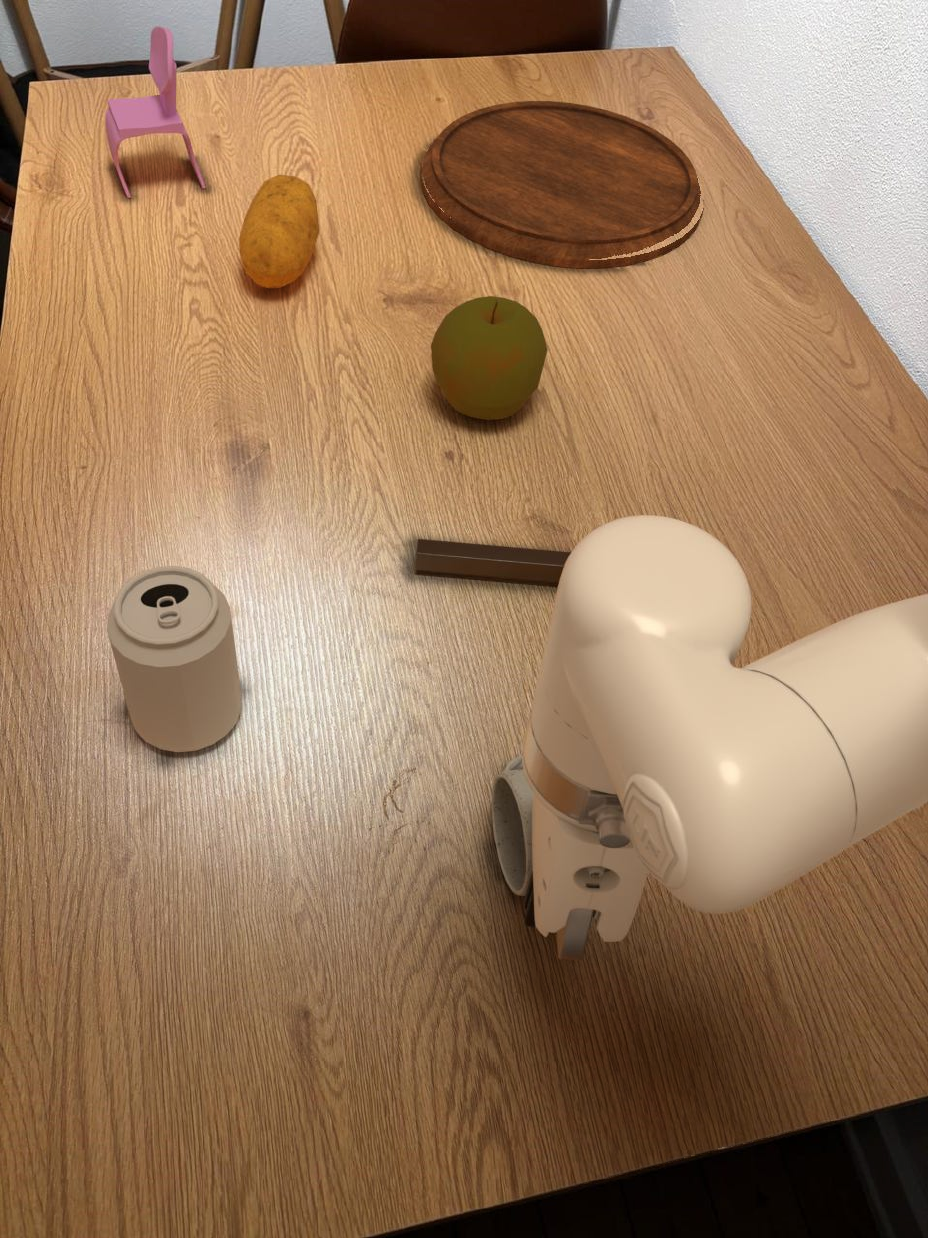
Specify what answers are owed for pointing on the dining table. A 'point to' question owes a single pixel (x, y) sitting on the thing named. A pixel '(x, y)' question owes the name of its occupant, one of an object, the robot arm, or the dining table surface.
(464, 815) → the dining table surface
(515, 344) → the apple
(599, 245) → the cutting board
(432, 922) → the dining table surface
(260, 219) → the potato
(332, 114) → the dining table surface
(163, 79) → the toy chair
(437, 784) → the dining table surface
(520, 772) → the ceramic mug
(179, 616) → the can
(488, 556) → the back rail
